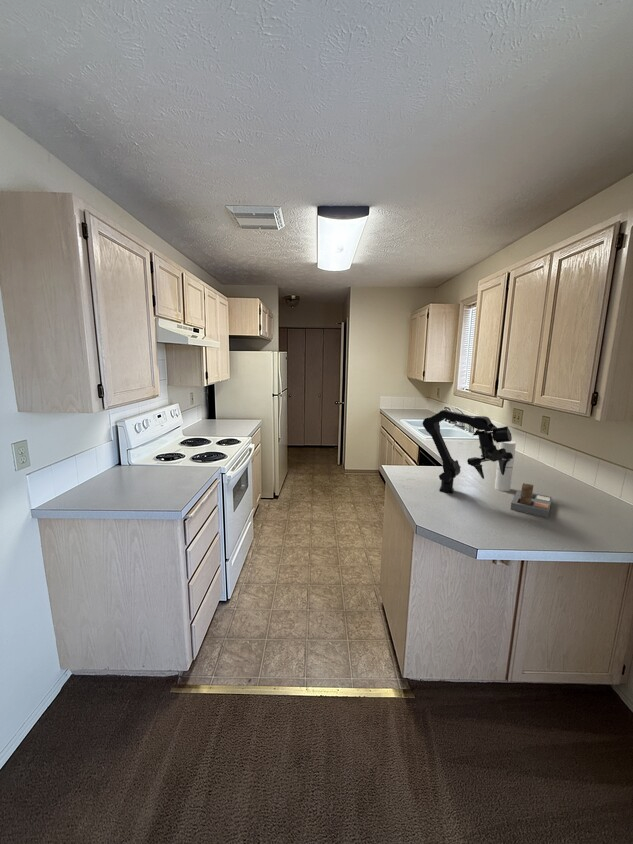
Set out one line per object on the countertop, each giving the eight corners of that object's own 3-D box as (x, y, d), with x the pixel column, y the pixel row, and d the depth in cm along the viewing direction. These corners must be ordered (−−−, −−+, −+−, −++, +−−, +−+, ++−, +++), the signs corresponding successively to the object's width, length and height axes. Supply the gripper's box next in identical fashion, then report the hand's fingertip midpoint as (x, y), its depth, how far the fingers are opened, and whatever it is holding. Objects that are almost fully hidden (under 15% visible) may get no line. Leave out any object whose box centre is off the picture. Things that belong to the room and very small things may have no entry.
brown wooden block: (519, 508, 156) (522, 485, 154) (520, 505, 159) (523, 483, 157) (529, 511, 153) (532, 487, 152) (530, 508, 157) (533, 485, 155)
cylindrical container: (512, 491, 176) (518, 443, 172) (496, 490, 177) (502, 443, 173) (507, 486, 183) (513, 440, 178) (492, 485, 184) (498, 439, 180)
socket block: (510, 509, 155) (511, 502, 155) (516, 495, 171) (517, 489, 170) (547, 517, 147) (548, 510, 146) (550, 503, 163) (551, 496, 162)
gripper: (474, 448, 153) (481, 483, 153) (516, 440, 153) (523, 475, 152) (464, 447, 164) (470, 479, 164) (503, 439, 164) (509, 472, 164)
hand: (493, 476), depth 161 cm, fingers open, 9 cm apart
